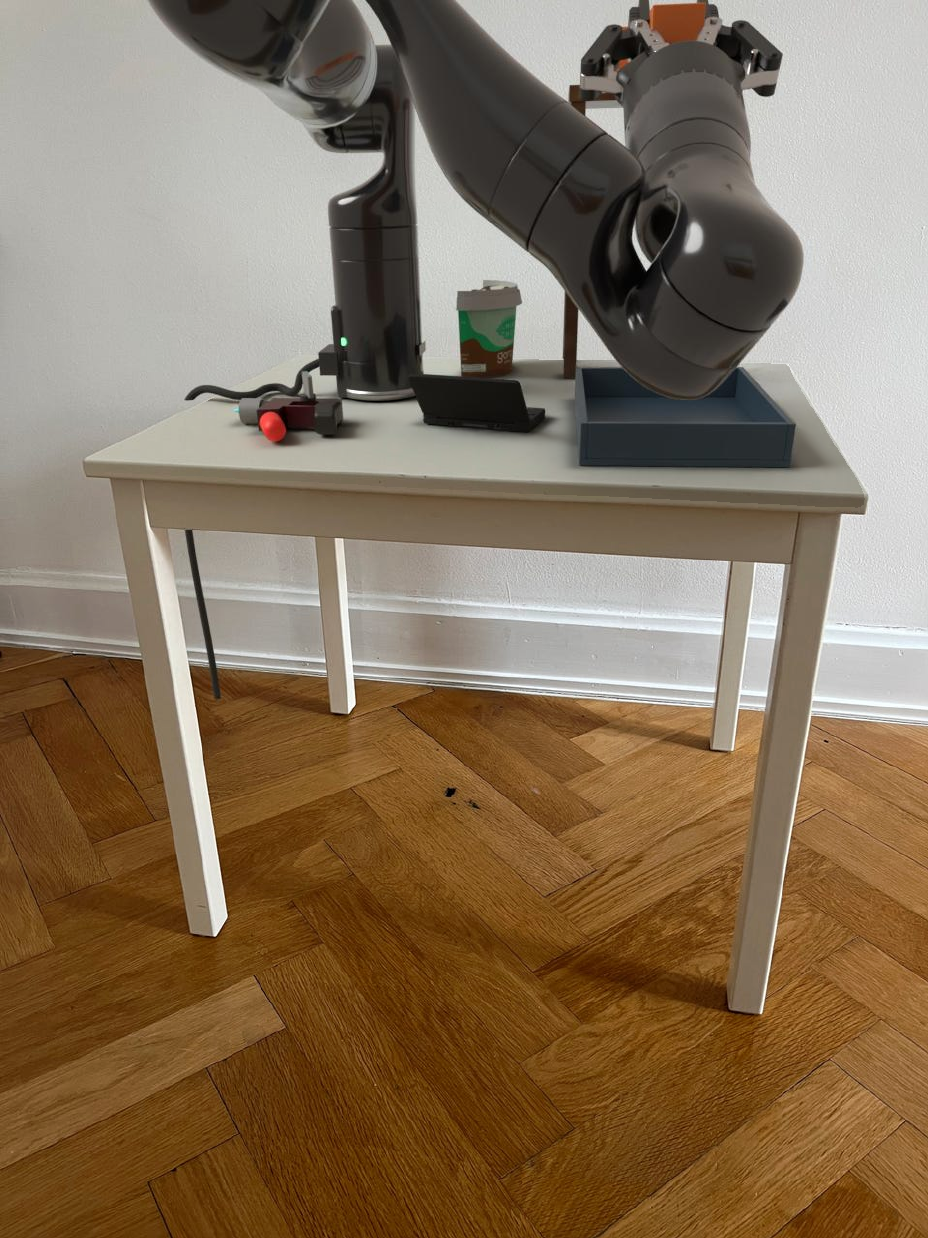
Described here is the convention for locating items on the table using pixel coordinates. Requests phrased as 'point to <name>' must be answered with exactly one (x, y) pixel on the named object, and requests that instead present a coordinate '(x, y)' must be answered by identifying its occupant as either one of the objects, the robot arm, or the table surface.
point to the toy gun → (292, 412)
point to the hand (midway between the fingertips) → (670, 12)
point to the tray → (678, 424)
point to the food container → (487, 328)
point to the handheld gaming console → (474, 402)
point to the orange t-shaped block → (675, 22)
